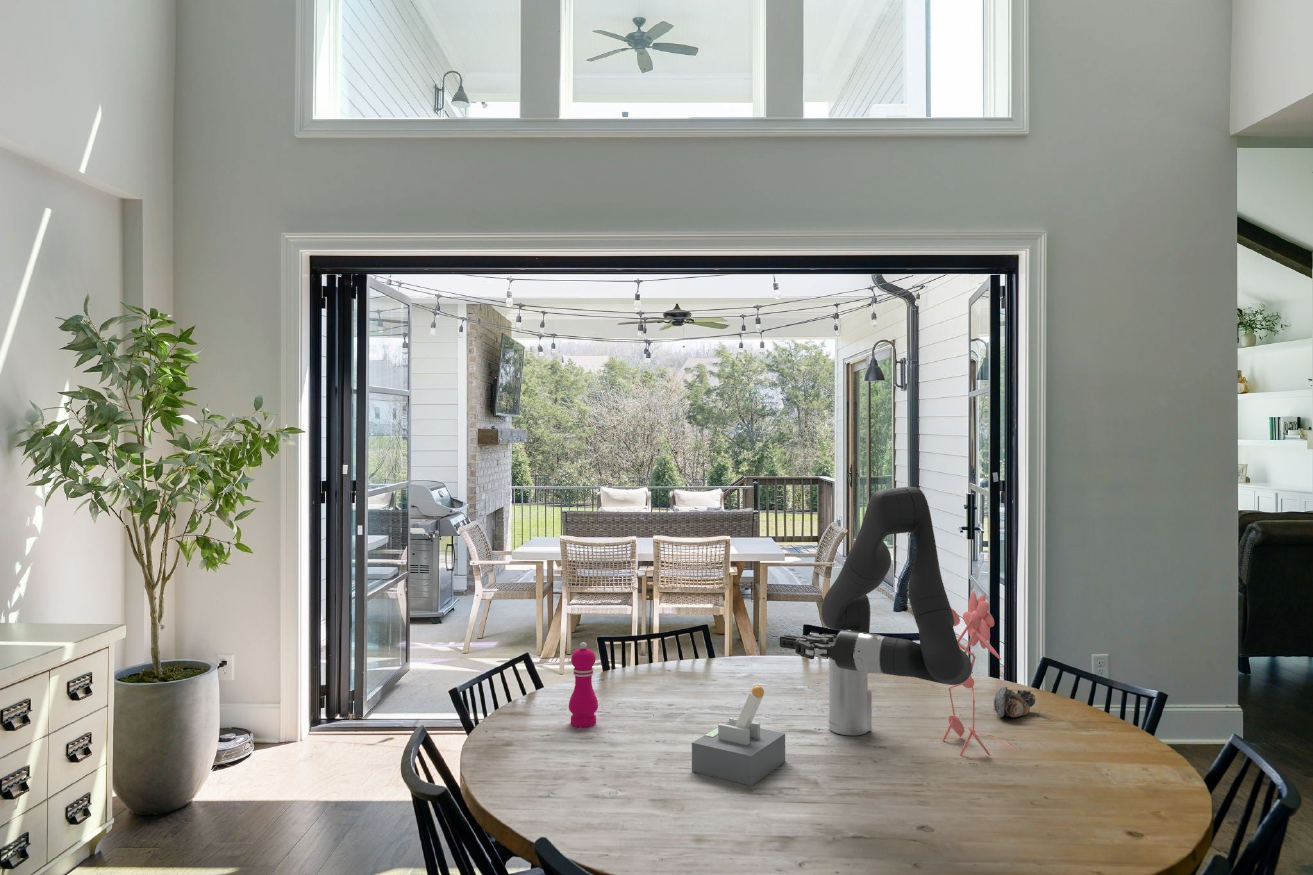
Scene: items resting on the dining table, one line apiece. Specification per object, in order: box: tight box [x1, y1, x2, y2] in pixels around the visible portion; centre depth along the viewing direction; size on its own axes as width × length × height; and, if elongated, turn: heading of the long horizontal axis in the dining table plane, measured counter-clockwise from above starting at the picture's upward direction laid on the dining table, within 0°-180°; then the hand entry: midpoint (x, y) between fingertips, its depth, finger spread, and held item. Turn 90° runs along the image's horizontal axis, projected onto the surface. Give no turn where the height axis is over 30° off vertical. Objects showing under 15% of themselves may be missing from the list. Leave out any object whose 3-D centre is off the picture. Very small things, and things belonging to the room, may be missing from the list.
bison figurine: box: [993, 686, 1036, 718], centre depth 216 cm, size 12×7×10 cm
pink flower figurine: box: [941, 591, 1015, 765], centre depth 194 cm, size 15×26×35 cm, turn 5°
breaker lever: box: [735, 685, 765, 729], centre depth 181 cm, size 3×3×13 cm
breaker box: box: [691, 717, 786, 787], centre depth 182 cm, size 16×14×9 cm
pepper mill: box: [568, 641, 599, 729], centre depth 210 cm, size 7×7×20 cm
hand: (782, 640), depth 177 cm, fingers closed
